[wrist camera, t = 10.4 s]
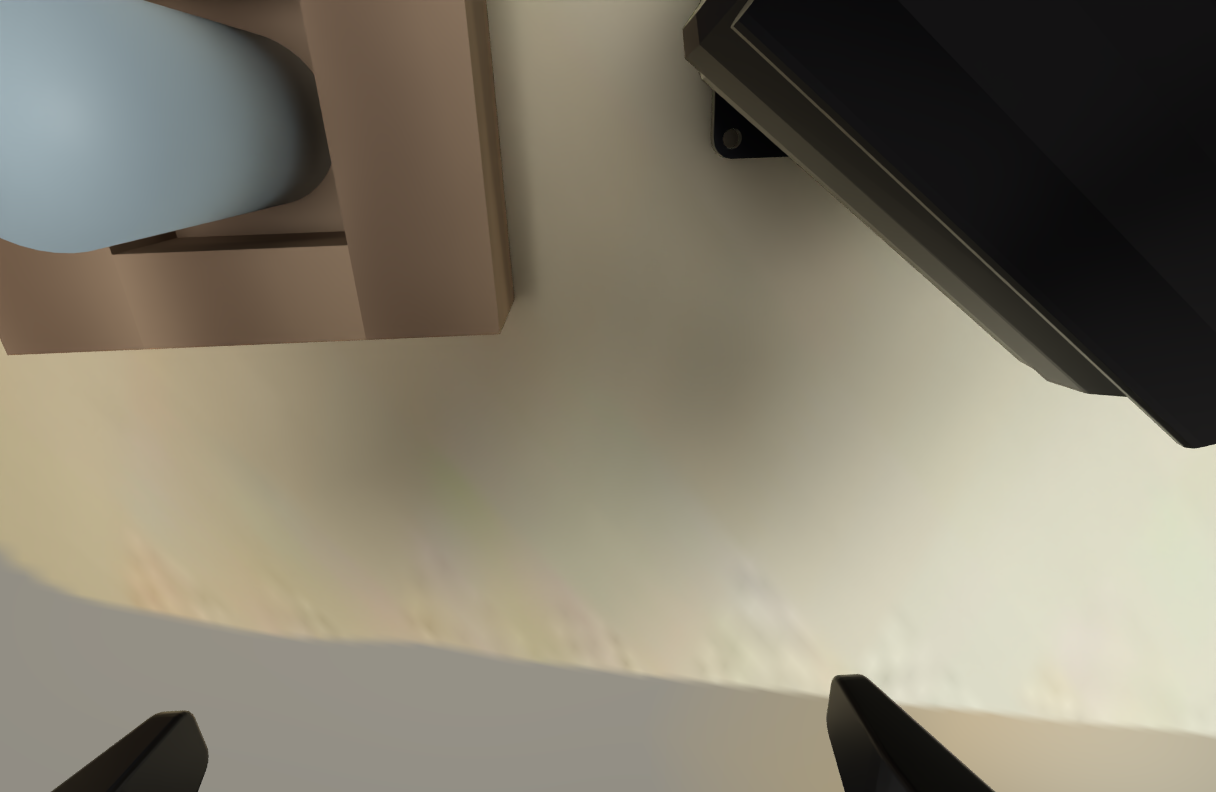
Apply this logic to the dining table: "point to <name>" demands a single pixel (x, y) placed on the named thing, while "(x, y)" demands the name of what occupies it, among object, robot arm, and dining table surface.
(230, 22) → the socket block
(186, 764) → the robot arm
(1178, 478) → the dining table surface
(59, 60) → the pin
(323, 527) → the dining table surface
